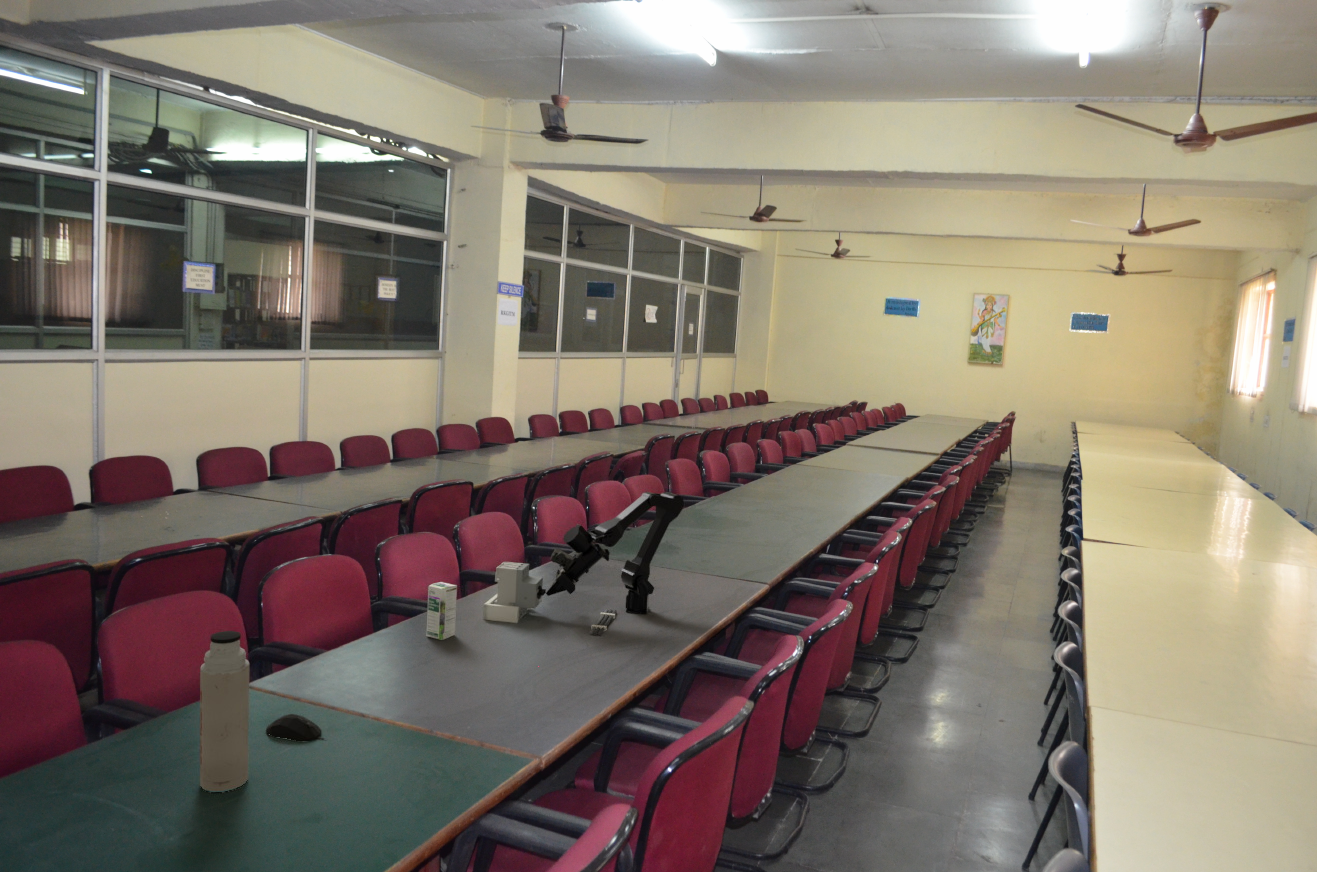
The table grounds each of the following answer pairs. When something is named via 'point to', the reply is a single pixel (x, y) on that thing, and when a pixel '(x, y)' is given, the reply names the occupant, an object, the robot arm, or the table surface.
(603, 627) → the dressed cords
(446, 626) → the syrup box
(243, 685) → the thermos bottle
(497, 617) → the mounting bay
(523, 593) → the circuit breaker
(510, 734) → the table surface
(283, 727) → the gaming mouse
